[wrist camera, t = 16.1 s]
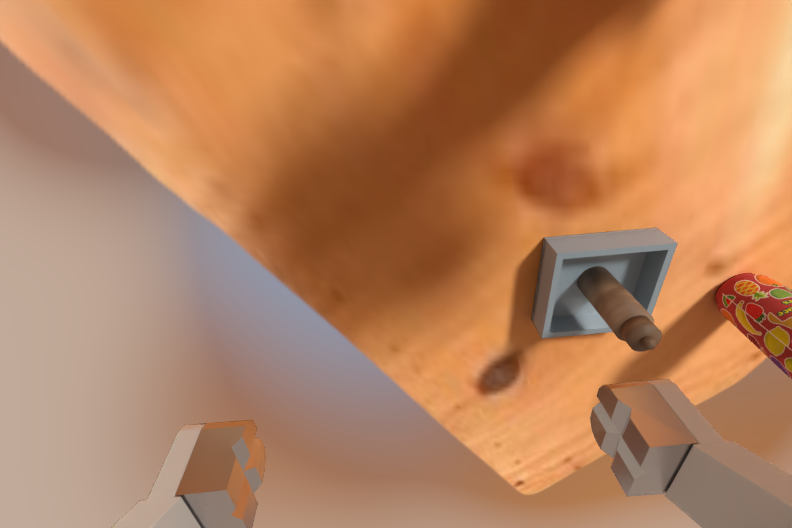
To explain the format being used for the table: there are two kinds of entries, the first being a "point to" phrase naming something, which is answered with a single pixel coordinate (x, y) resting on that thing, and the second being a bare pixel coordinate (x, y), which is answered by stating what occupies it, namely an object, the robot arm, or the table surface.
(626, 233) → the serving tray
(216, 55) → the table surface
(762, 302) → the smoothie
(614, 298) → the pepper mill
